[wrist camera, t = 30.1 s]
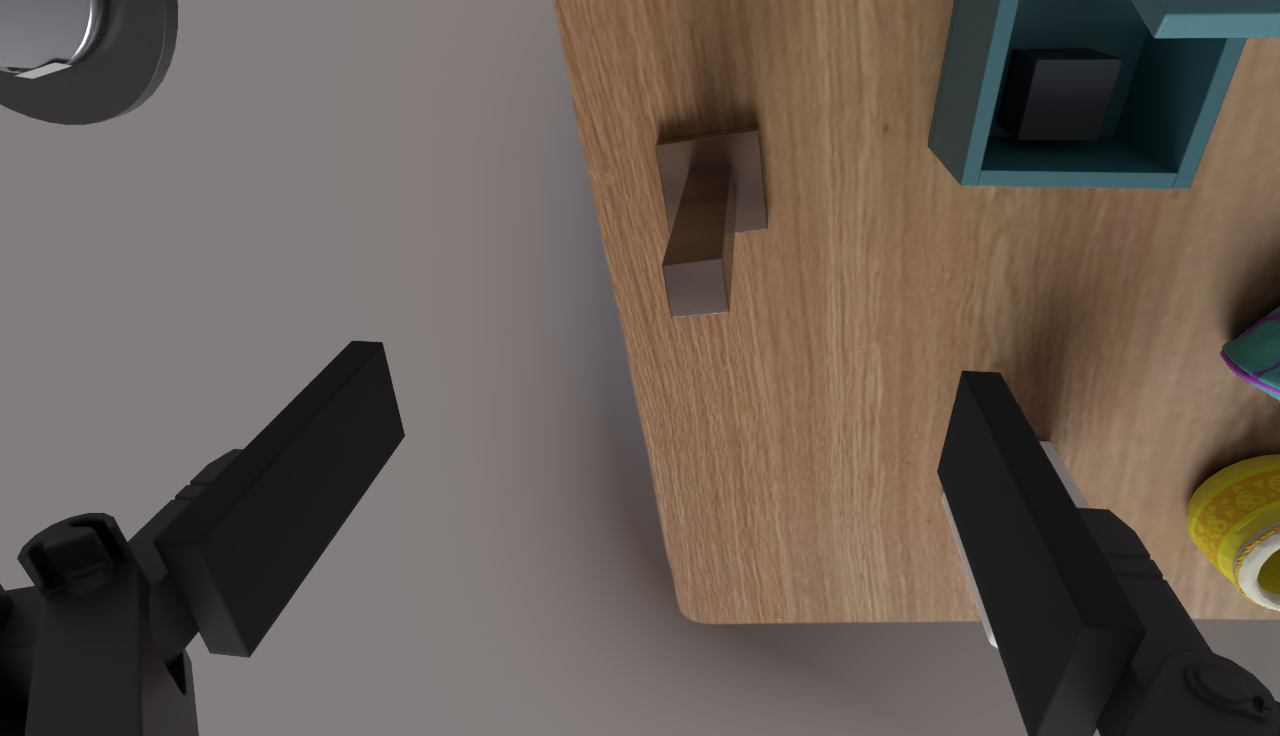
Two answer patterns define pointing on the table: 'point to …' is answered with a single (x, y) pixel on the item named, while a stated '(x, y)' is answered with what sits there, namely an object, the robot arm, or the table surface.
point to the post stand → (708, 214)
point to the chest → (1136, 115)
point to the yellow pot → (1242, 526)
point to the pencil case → (1257, 354)
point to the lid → (1210, 18)
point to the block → (1057, 94)
